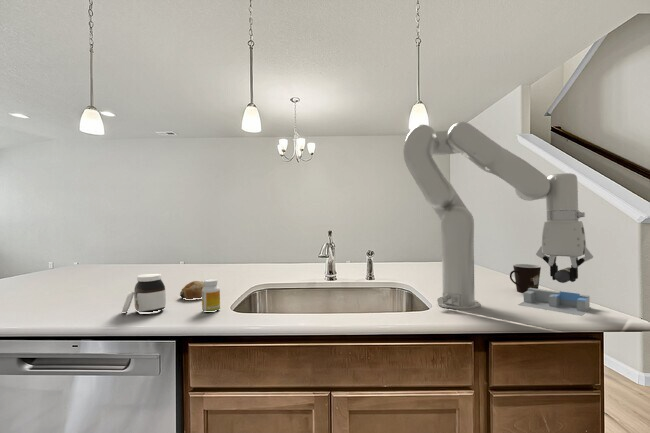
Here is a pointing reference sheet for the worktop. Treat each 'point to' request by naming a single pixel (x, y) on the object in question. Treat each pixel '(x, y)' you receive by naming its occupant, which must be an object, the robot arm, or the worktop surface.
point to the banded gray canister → (563, 275)
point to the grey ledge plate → (557, 301)
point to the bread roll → (192, 290)
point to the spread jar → (147, 294)
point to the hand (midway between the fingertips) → (563, 279)
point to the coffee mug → (526, 276)
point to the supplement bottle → (210, 296)
